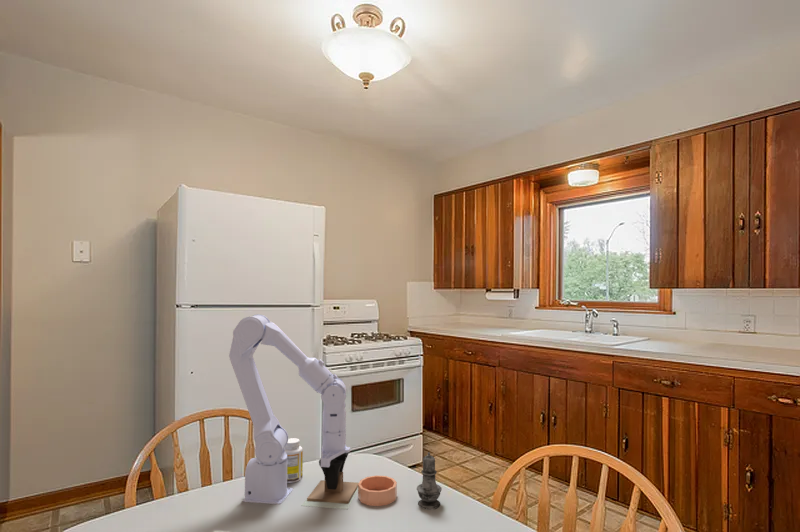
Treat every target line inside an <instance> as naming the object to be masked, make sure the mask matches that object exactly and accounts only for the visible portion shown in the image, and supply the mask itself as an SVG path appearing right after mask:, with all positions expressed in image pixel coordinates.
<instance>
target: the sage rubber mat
mask: <svg viewBox="0 0 800 532" xmlns="http://www.w3.org/2000/svg"><path fill="white" fill-rule="evenodd" d="M324 481H325V479H324ZM354 482H355V483H359V482H360V481H359V482H358V481H354ZM314 489H315V487H314V488H313V490H314ZM311 493H312V491H311V492H310V494H311ZM357 494H358V487H357V489H356V491H355V493H354V495H353V496H352V498H351V500H350V502H349V503H348V504H345V503H331V502H317V501H307V498H306V499H304V502H303V503H302V504H301V507H308V508H309V507H311V508H324V509H325V508H327V509H340V510H348V509H349V507H350V505H351V504H352V502H353V500H354V498H355V497H356V495H357Z"/></svg>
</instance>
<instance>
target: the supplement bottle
mask: <svg viewBox="0 0 800 532" xmlns="http://www.w3.org/2000/svg"><path fill="white" fill-rule="evenodd" d="M284 450H285V452H286V454H287V484H288V483H289V484H291V483H293V484H294V483H296V482H299V481H301V480H302V479H303V463H304V462H303V457H304V456H303V452H304V451H303V447H302V446H301V443H300V439H299V438H296V437H291V438H288V442H287V445H286V446H285V447H284Z"/></svg>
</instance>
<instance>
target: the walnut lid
mask: <svg viewBox="0 0 800 532" xmlns="http://www.w3.org/2000/svg"><path fill="white" fill-rule="evenodd" d="M324 480H325V479H324ZM324 480H323V479H320V481H319V482H318V483H317V484H316V486H315V487H314V488H315V489H314V488H313V489H312V491H311V492H312V493H311V492H310V493H309V495H308V496H307V498H306V499H307V501H317V502H331V503H345V504H348V503H349V502H350V500H351V498H352V496H353V495H354V493H355V491H356V489H357V487H358V484H359V483H355V482H356V481H344V471H343V472H339V477H338V484H337V488H336V489H335V490H334V489H328V488H327V484H326V480H325V481H324Z"/></svg>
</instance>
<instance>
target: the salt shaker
mask: <svg viewBox="0 0 800 532" xmlns="http://www.w3.org/2000/svg"><path fill="white" fill-rule="evenodd" d="M437 473H438V472H437V470H436V459H435V457H434V456H433V455H431V453H430V451H428V452H427V455H425V456H423V458H422V469H421V474H422V481H421V484H419V485H417V486H416V490H417V494H418V496H419V498H420V500H418V501H417V505H418V507H419V508H421V509H423V510H431V511H432V510H436V509H438V508H440V507H441V501H440V500H438V499H439V498H440V496H441V492H442V487H441V486H440V485H439V484H437V482H436V480H437V479H436V474H437Z"/></svg>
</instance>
